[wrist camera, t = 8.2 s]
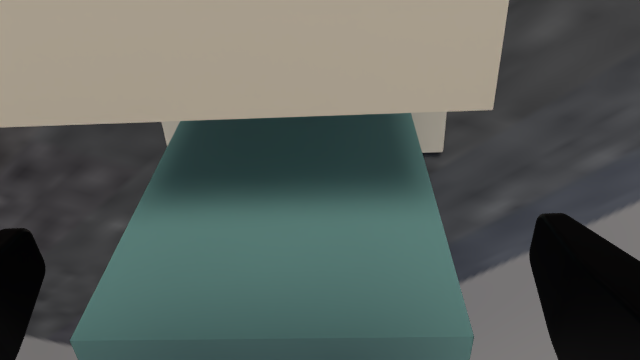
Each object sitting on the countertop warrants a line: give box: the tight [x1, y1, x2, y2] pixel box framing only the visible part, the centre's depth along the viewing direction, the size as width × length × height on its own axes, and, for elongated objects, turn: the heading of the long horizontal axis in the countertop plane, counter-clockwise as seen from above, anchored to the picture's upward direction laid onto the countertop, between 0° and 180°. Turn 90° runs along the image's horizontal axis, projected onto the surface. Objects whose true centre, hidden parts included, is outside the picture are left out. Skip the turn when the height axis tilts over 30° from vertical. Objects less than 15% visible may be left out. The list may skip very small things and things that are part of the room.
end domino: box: [70, 113, 474, 360], centre depth 11 cm, size 2×5×9 cm, turn 92°
